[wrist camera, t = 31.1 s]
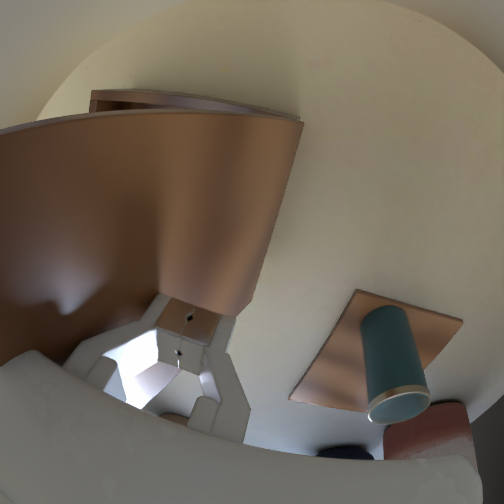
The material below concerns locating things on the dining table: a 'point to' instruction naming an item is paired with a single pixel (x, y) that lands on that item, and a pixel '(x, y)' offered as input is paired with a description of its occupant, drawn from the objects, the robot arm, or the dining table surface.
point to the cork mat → (351, 353)
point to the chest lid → (133, 222)
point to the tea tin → (392, 367)
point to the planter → (431, 434)
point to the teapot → (346, 453)
